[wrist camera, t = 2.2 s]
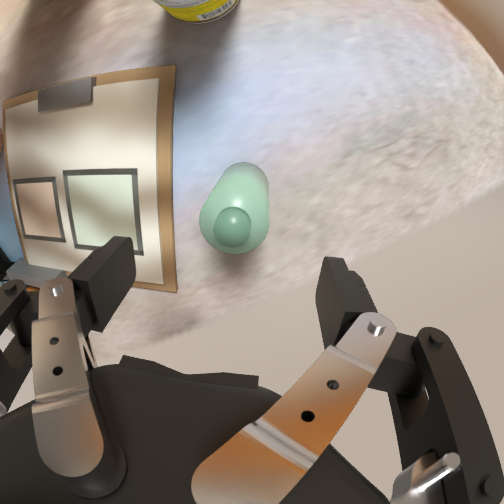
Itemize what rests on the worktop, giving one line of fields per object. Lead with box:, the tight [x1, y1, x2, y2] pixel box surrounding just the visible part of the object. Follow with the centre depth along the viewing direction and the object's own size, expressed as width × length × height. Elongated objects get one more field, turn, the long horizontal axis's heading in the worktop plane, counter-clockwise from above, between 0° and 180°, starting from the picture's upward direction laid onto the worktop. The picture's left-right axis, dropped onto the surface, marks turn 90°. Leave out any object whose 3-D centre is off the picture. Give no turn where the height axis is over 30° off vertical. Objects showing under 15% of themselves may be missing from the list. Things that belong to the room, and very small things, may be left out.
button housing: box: [6, 258, 68, 288], centre depth 26 cm, size 8×8×3 cm
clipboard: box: [3, 65, 178, 292], centre depth 21 cm, size 19×19×1 cm
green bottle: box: [199, 162, 269, 254], centre depth 18 cm, size 4×4×8 cm
